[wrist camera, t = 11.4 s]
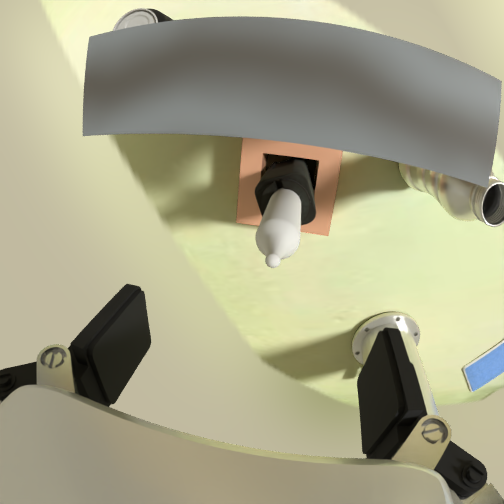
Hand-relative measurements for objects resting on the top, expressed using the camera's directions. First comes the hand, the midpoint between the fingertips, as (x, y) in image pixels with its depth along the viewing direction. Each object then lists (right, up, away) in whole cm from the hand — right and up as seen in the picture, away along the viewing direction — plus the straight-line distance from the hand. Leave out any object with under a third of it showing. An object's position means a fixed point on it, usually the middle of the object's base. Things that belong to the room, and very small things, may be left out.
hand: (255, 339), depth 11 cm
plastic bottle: (+22, +15, +24) cm, 36 cm away
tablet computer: (+56, -20, +35) cm, 69 cm away
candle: (+5, +13, +28) cm, 31 cm away
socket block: (+5, +13, +28) cm, 31 cm away
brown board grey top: (+6, +22, +23) cm, 33 cm away
